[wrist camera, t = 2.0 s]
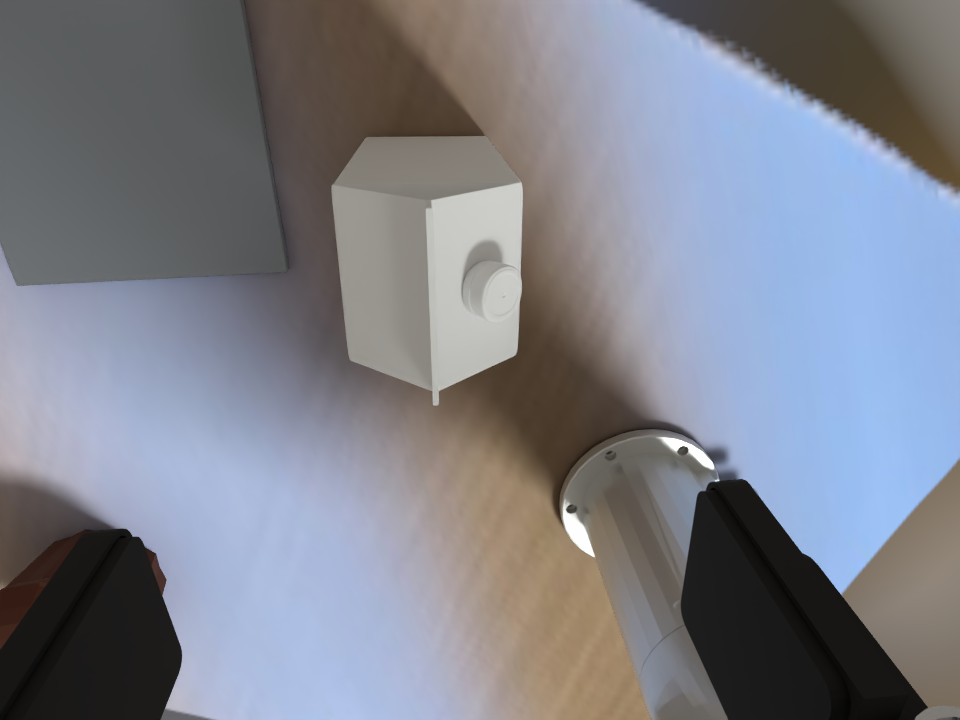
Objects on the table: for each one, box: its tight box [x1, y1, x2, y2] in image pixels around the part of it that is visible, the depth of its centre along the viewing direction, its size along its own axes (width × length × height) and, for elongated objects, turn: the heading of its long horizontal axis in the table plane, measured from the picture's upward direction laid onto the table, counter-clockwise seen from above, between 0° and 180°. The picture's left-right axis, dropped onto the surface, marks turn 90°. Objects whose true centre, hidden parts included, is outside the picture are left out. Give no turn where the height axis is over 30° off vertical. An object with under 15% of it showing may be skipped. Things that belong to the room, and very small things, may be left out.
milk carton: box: [331, 136, 523, 406], centre depth 29 cm, size 7×7×19 cm
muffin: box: [0, 529, 166, 649], centre depth 44 cm, size 12×11×10 cm
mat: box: [0, 0, 289, 286], centre depth 34 cm, size 16×16×1 cm
